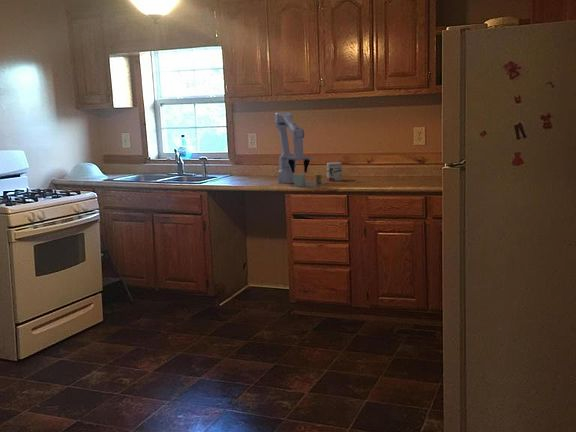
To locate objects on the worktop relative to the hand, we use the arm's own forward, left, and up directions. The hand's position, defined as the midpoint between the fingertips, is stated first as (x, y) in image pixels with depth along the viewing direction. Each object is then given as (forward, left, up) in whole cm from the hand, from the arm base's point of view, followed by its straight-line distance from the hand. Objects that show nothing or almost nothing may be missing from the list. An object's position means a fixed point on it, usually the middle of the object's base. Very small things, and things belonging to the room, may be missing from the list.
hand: (299, 172), depth 388 cm
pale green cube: (0, 0, -8) cm, 8 cm away
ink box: (+14, +25, -9) cm, 30 cm away
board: (+3, +7, -9) cm, 12 cm away
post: (+8, +12, -8) cm, 16 cm away
